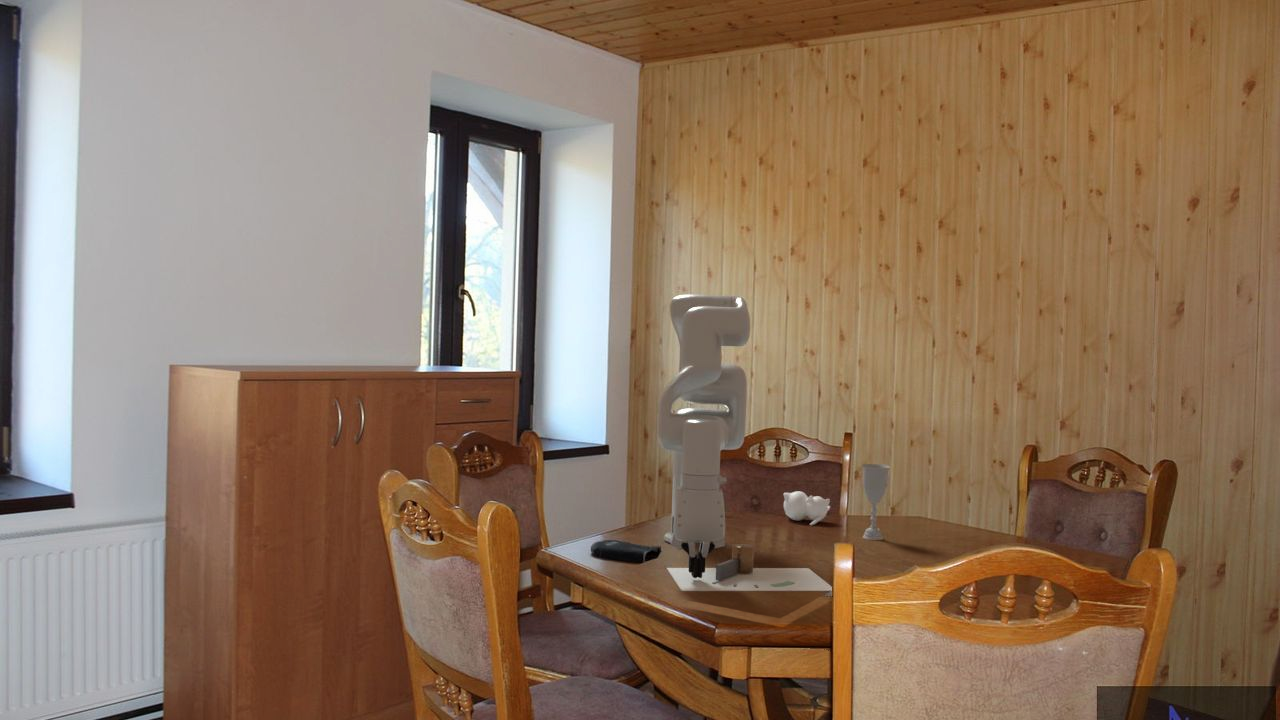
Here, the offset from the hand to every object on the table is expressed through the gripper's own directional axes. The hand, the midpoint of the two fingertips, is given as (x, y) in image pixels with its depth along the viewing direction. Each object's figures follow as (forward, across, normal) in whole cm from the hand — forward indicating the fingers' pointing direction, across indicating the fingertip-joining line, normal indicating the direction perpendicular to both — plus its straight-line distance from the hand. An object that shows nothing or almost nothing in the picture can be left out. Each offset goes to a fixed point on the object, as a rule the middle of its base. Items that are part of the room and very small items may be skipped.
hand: (696, 576), depth 196 cm
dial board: (+2, -11, -2) cm, 11 cm away
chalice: (+2, -54, -48) cm, 72 cm away
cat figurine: (+2, -42, -69) cm, 81 cm away
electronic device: (+3, +11, -26) cm, 29 cm away
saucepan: (+1, -8, -4) cm, 9 cm away
